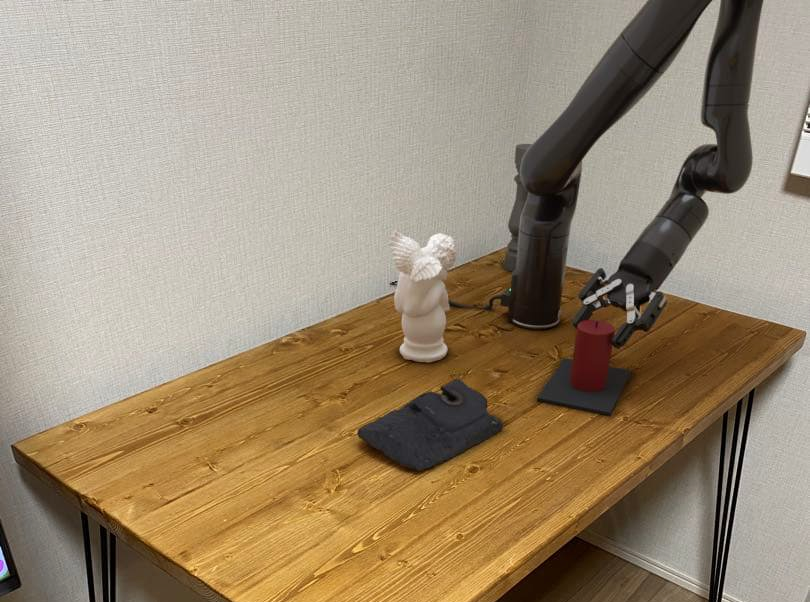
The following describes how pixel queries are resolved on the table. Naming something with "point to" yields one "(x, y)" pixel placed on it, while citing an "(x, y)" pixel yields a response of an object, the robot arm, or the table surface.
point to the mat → (596, 401)
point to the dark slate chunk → (433, 427)
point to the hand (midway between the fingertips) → (594, 336)
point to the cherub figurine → (422, 294)
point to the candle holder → (516, 211)
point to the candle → (591, 355)
